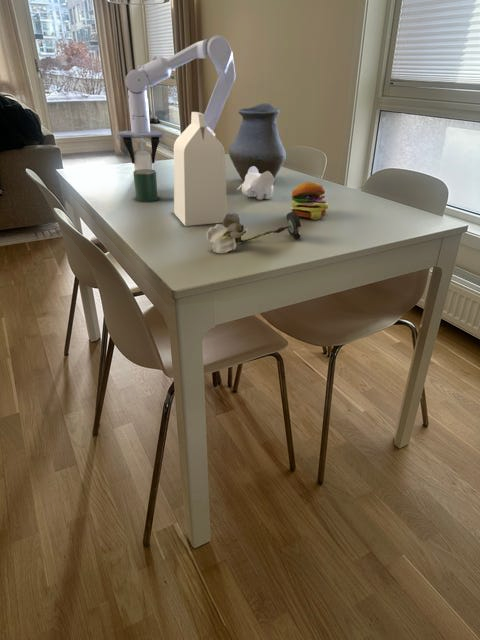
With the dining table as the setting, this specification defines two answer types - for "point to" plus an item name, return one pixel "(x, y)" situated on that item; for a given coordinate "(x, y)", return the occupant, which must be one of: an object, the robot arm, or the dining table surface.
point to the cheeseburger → (309, 201)
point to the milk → (199, 175)
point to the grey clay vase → (258, 141)
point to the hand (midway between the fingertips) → (143, 162)
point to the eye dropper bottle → (142, 157)
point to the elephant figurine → (258, 184)
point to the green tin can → (145, 185)
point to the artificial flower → (243, 232)
